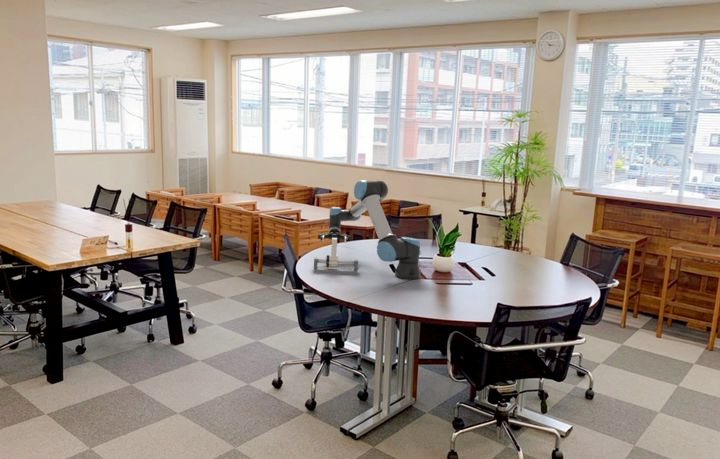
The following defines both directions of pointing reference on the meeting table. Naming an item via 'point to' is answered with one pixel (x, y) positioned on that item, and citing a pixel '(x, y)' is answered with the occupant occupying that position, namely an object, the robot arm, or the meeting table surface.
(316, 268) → the pipe stand
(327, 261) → the ring
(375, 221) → the robot arm
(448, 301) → the meeting table surface
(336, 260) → the sleeve
